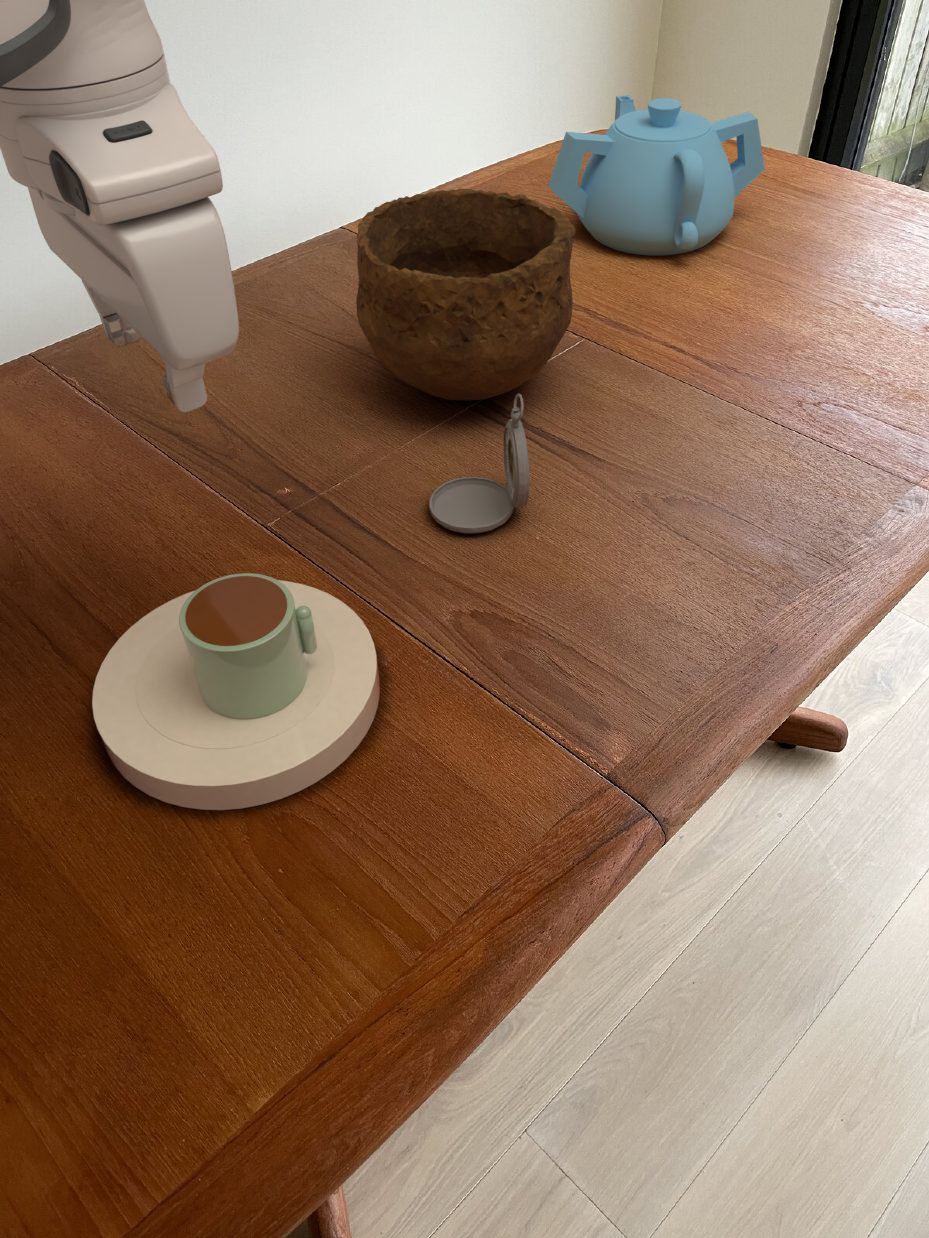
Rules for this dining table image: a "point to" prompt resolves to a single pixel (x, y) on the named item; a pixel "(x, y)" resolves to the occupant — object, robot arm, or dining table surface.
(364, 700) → the plate
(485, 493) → the pocket watch
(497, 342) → the bowl
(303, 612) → the teacup
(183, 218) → the robot arm
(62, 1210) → the dining table surface
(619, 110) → the teapot
